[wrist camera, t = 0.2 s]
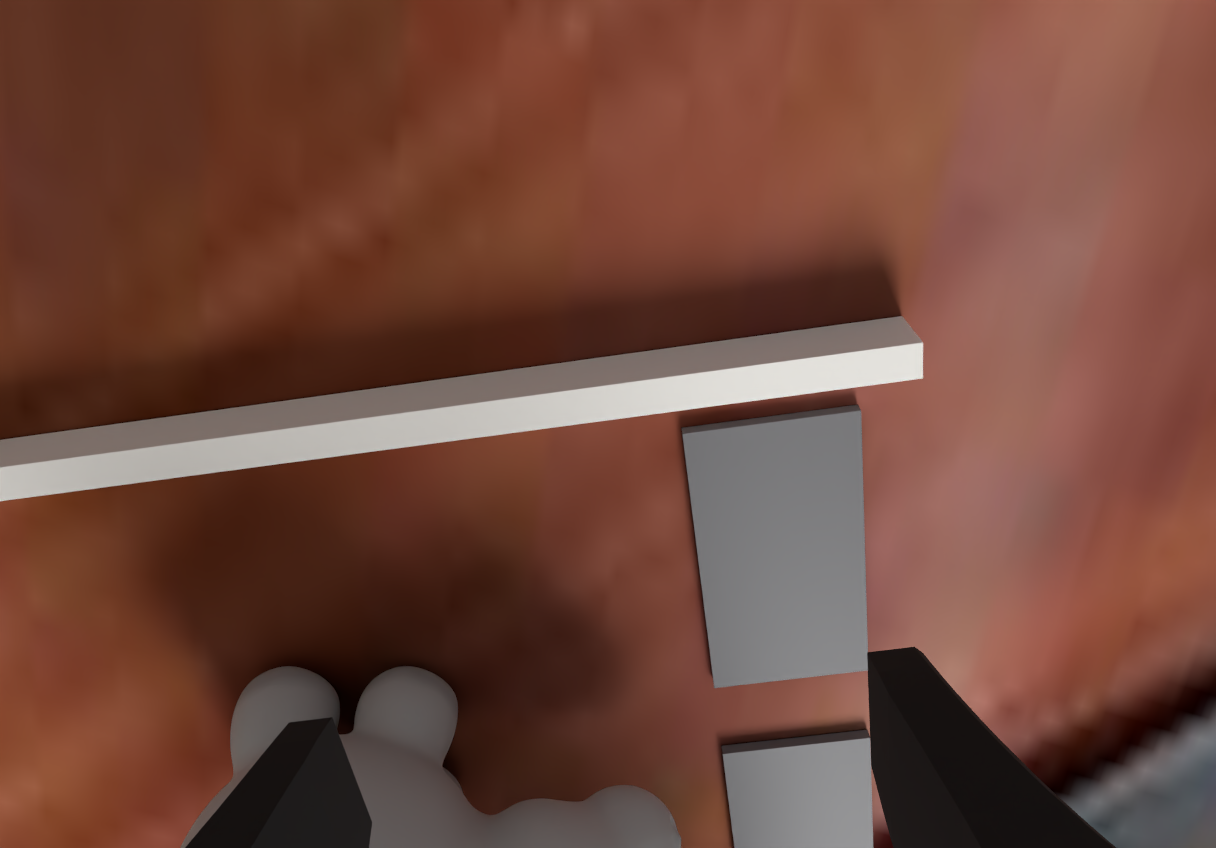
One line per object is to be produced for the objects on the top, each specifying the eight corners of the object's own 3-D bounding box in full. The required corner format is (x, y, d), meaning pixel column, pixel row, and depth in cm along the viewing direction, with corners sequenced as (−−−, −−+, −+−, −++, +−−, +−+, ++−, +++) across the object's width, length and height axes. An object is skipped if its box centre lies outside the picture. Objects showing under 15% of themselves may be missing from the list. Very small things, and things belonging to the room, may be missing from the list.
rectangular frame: (905, 946, 30) (929, 1027, 28) (30, 1031, 32) (-13, 1112, 30) (902, 315, 20) (938, 362, 18) (-358, 488, 22) (-464, 550, 20)
